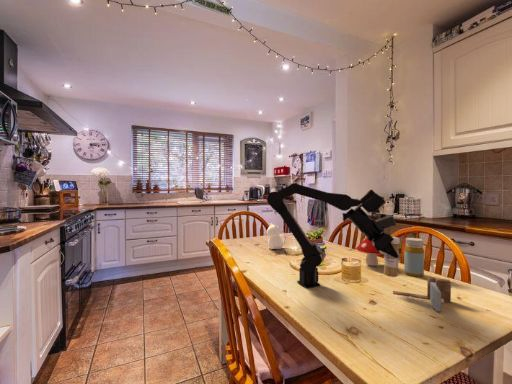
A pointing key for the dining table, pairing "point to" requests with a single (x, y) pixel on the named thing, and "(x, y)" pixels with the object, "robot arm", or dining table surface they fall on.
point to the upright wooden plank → (442, 285)
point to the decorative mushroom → (369, 252)
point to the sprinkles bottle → (392, 260)
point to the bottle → (414, 257)
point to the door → (435, 296)
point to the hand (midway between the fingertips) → (395, 255)
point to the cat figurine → (275, 237)
